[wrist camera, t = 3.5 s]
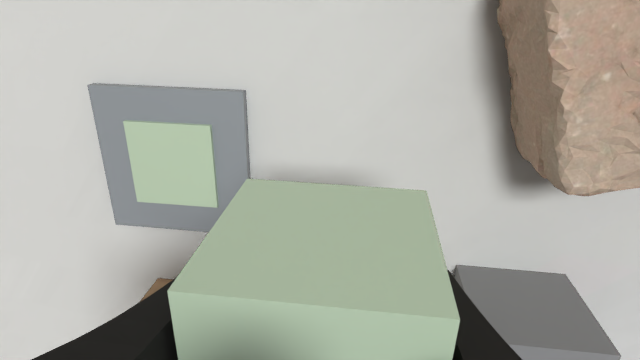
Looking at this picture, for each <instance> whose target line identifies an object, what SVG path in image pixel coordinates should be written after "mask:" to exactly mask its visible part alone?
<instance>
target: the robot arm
mask: <svg viewBox="0 0 640 360" xmlns="http://www.w3.org/2000/svg"><path fill="white" fill-rule="evenodd" d="M447 271H448V275H449V279H450V283H451V286H452V290H453V294H454V298H455V302H456V305H457V309H458V313H459V317H460V323H459V328H458V333H457V338H456V344H455V349H454V354H453V359H452V360H522V359H521V358H520V357H519V355H518V354H517V353H516V352H515V351H514V350H513V349H512V348H511V347H510V346H509V345H508V344H507V343H506V342H505V340H504V339H503V338H502V337H501V336H500V335H499V334H498V332H497V331H496V330H495V329H494V328H493V327H492V325H491V324H490V323H489V322H488V321H487V319H486V318H485V317H484V316H483V315H482V313H481V312H480V311H479V310H478V308H477V307H476V306H475V304H474V303H473V302H472V301H471V299H470V298H469V297H468V295H467V294H466V293H465V291H464V290H463V289H462V287H461V286H460V285H459V283H458V282H457V281H456V279H455V278H454V277H453V275H452V274H451V273H450V272H449V270H447ZM177 277H178V276H177ZM177 277H176V278H177ZM176 278H175V279H176ZM175 279H173V280H172V281H170V282H169V283H168V284H166V285H165V286H163V287H162V288H161V289H159V290H158V291H156V292H155V293H153V294H152V295H150V296H148V297H147V298H145V299H144V300H142V301H141V302H139V303H138V304H136V305H135V306H133V307H131V308H130V309H128V310H127V311H125V312H124V313H122V314H120V315H119V316H117V317H115V318H114V319H112V320H110V321H108V322H107V323H105V324H103V325H101V326H99V327H97V328H96V329H94V330H92V331H90V332H88V333H86V334H85V335H83V336H81V337H79V338H77V339H75V340H73V341H70V342H68V343H66V344H64V345H62V346H60V347H58V348H55V349H53V350H51V351H49V352H47V353H45V354H43V355H40V356H38V357H36V358H34V359H32V360H178V356H177V349H176V343H175V337H174V330H173V324H172V318H171V311H170V305H169V299H168V292H167V291H168V289H169V288H170V286H171V285H172V284H173V282H174V281H175Z"/></svg>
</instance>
